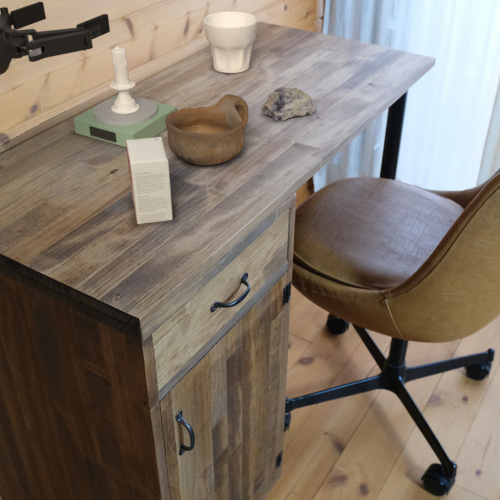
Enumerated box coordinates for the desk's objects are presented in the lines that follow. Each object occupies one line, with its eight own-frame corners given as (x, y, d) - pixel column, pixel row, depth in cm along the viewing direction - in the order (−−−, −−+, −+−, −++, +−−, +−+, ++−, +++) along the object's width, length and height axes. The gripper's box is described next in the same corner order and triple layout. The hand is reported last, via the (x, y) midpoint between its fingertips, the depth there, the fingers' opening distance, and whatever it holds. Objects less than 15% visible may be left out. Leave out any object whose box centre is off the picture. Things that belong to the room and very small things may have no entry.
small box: (132, 198, 104) (124, 139, 98) (167, 194, 105) (161, 135, 99) (136, 225, 98) (128, 163, 92) (173, 221, 99) (168, 159, 93)
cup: (194, 70, 150) (192, 22, 144) (222, 54, 159) (221, 8, 152) (241, 80, 145) (240, 30, 139) (267, 63, 154) (268, 15, 147)
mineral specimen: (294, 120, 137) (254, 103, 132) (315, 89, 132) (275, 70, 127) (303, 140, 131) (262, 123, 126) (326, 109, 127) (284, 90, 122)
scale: (74, 133, 123) (71, 115, 121) (121, 107, 133) (119, 89, 131) (133, 150, 118) (131, 131, 115) (177, 121, 128) (176, 103, 126)
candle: (107, 106, 124) (99, 44, 117) (134, 101, 126) (127, 39, 119) (116, 116, 120) (108, 53, 113) (143, 111, 122) (137, 48, 115)
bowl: (191, 118, 125) (202, 72, 119) (256, 148, 124) (270, 103, 117) (146, 157, 112) (156, 107, 105) (218, 192, 110) (232, 143, 104)
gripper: (-82, 66, 97) (22, 27, 112) (42, 99, 87) (138, 52, 102) (-98, 15, 93) (13, -18, 108) (31, 44, 83) (133, 3, 98)
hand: (74, 16), depth 105 cm, fingers open, 13 cm apart
